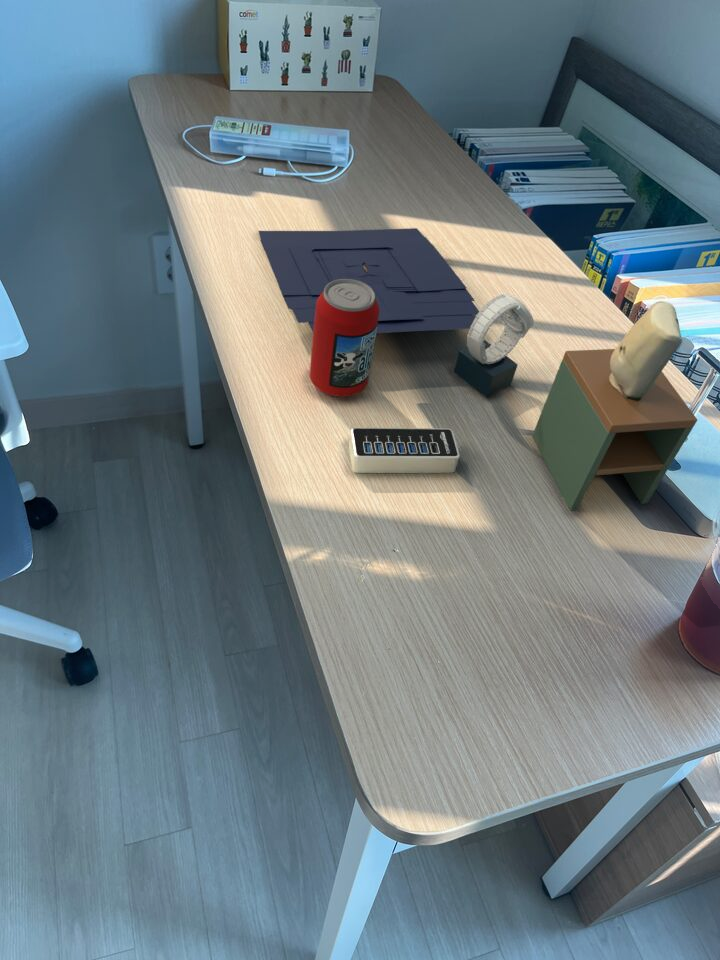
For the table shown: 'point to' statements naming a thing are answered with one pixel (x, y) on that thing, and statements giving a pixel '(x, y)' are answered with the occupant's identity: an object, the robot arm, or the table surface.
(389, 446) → the multiport hub
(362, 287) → the beverage can
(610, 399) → the shelf
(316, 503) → the table surface
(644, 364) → the beige rounded block
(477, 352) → the watch
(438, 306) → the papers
